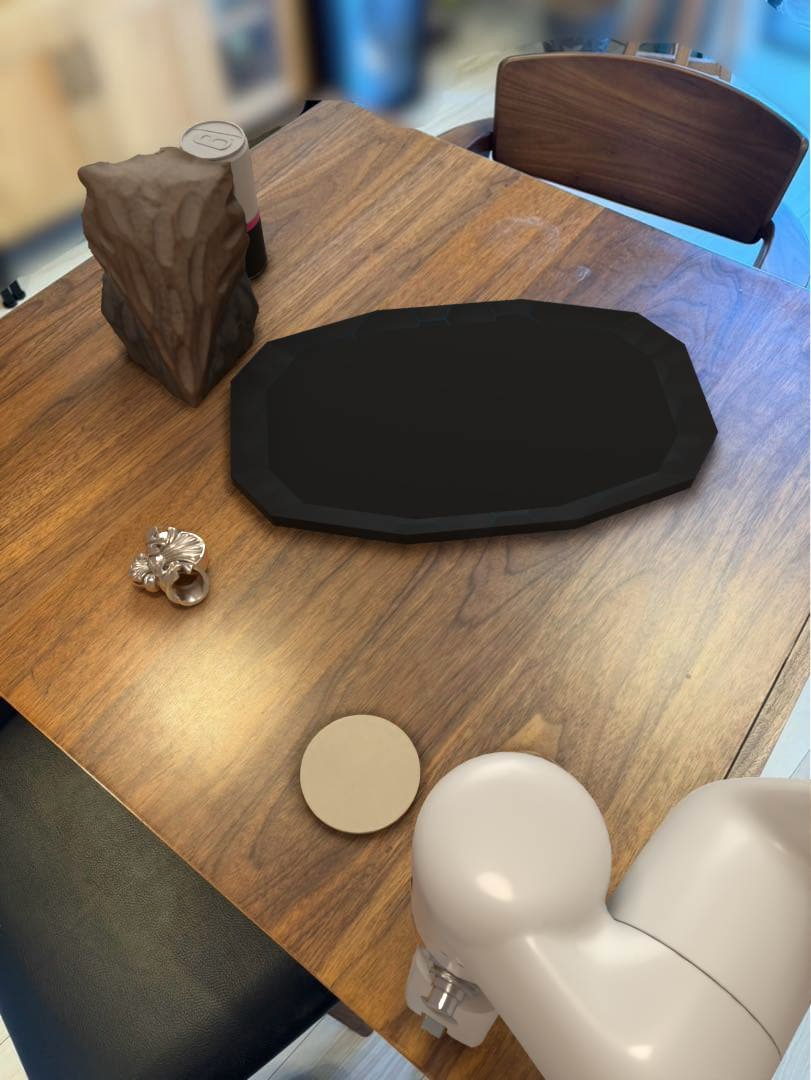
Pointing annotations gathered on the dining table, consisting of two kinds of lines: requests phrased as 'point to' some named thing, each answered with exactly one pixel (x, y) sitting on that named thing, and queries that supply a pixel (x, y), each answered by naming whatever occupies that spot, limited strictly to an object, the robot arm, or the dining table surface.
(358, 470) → the tray
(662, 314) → the dining table surface
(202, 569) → the ornament
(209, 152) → the beverage can
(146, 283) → the brown rock
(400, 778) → the coaster
